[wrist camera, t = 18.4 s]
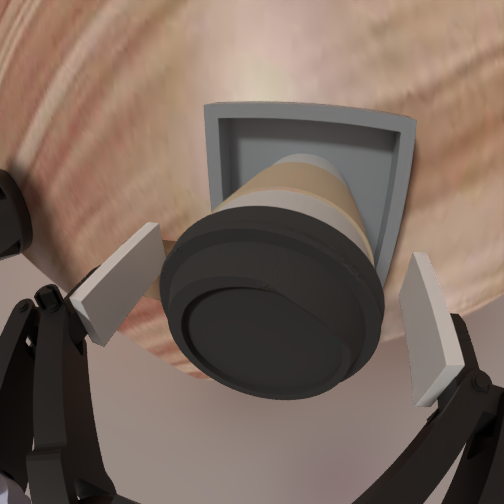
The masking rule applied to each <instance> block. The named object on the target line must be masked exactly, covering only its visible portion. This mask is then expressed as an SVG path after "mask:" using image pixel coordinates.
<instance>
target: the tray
mask: <svg viewBox="0 0 504 504" xmlns="http://www.w3.org/2000/svg"><path fill="white" fill-rule="evenodd" d="M204 118H205V134H206V149H207V163H208V176H209V189H210V200H211V212H212V211H213V210H214V209H215V208H216V207H218V206H219V205H220V204H221V203H222V202H224V201H225V200H226V199H227V198H228V197H230V196H231V195H232V194H233V193H235V192H236V191H237V190H238V189H240V188H241V187H242V186H243V185H245V184H246V183H247V182H248V181H250V180H251V179H252V178H253V177H255V176H256V175H257V174H258V173H260V172H261V171H263V170H265V169H266V168H268V167H271V166H272V165H273V164H274V163H276V162H277V161H278V160H280V159H282V158H284V157H286V156H289V155H293V154H300V153H304V154H312V155H316V156H319V157H322V158H324V159H326V160H327V161H329V162H330V163H332V164H333V165H334V166H335V167H337V168H338V170H339V171H340V172H341V173H342V175H343V176H344V178H345V180H346V182H347V184H348V187H349V190H350V193H351V195H352V196H353V198H354V200H355V203H356V206H357V208H358V211H359V214H360V217H361V220H362V223H363V226H364V229H365V232H366V235H367V238H368V241H369V244H370V248H371V251H372V254H373V259H374V268H375V270H376V272H377V274H378V276H379V279H380V282H381V285H382V288H383V287H384V284H385V280H386V277H387V274H388V270H389V267H390V263H391V259H392V256H393V252H394V248H395V244H396V240H397V236H398V232H399V228H400V223H401V219H402V214H403V209H404V204H405V199H406V194H407V189H408V183H409V177H410V171H411V165H412V158H413V150H414V142H415V134H416V124H417V120H416V119H413V118H411V117H408V116H404V115H399V114H393V113H388V112H382V111H376V110H369V109H362V108H354V107H346V106H337V105H326V104H314V103H297V102H263V101H252V102H217V103H212V104H206V105H204Z"/></svg>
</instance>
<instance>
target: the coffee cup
mask: <svg viewBox="0 0 504 504" xmlns="http://www.w3.org/2000/svg"><path fill="white" fill-rule="evenodd" d="M159 291H160V298H161V302H162V306H163V309H164V312H165V314H166V317H167V319H168V324H169V329H170V332H171V334H172V337H173V339H174V341H175V342H176V344H177V346H178V347H179V349H180V350H181V351H182V353H183V354H184V355H185V356H186V357H187V358H188V359H189V361H191V362H192V363H193V364H194V365H195V366H196V367H197V368H198V369H200V370H201V371H202V372H203V373H205V374H206V375H208V376H209V377H211V378H212V379H214V380H216V381H217V382H219V383H221V384H223V385H225V386H227V387H229V388H232V389H234V390H237V391H239V392H242V393H245V394H249V395H253V396H256V397H261V398H267V399H275V400H296V399H305V398H310V397H313V396H317V395H320V394H322V393H324V392H326V391H328V390H330V389H332V388H333V387H335V386H336V385H337V384H338V383H340V382H342V381H344V380H346V379H348V378H349V377H351V376H352V375H354V374H355V373H357V371H359V370H360V369H361V368H362V367H363V366H364V365H365V364H366V363H367V362H368V361H369V360H370V358H371V357H372V355H373V353H374V352H375V350H376V348H377V345H378V342H379V338H380V333H381V324H382V321H383V316H384V307H385V303H384V293H383V288H382V285H381V282H380V279H379V276H378V274H377V272H376V270H375V268H374V259H373V254H372V251H371V248H370V244H369V241H368V238H367V235H366V232H365V229H364V226H363V223H362V220H361V217H360V214H359V211H358V208H357V206H356V203H355V200H354V198H353V196H352V195H351V193H350V190H349V187H348V184H347V182H346V180H345V178H344V176H343V175H342V173H341V172H340V171H339V170H338V168H337V167H335V166H334V165H333V164H332V163H330V162H329V161H327V160H326V159H324V158H322V157H319V156H316V155H312V154H304V153H300V154H293V155H289V156H286V157H284V158H282V159H280V160H278V161H277V162H276V163H274V164H273V165H272V166H271V167H268V168H266V169H265V170H263V171H261V172H260V173H258V174H257V175H256V176H255V177H253V178H252V179H251V180H250V181H248V182H247V183H246V184H245V185H243V186H242V187H241V188H240V189H238V190H237V191H236V192H235V193H233V194H232V195H231V196H230V197H228V198H227V199H226V200H225V201H224V202H222V203H221V204H220V205H219V206H218V207H216V208H215V209H214V210H213V211H212V213H211V214H210V215H208V216H206V217H204V218H202V219H201V220H199V221H197V222H196V223H195V224H193V225H192V226H191V227H189V228H188V229H187V230H186V231H185V232H184V233H183V234H182V235H181V237H180V238H179V239H178V241H177V242H176V244H175V245H174V247H173V249H172V250H171V252H170V253H169V254H168V256H167V257H166V259H165V261H164V263H163V266H162V269H161V273H160V279H159Z"/></svg>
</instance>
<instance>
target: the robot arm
mask: <svg viewBox="0 0 504 504" xmlns="http://www.w3.org/2000/svg"><path fill="white" fill-rule="evenodd" d="M31 241H32V228H31V222H30V218H29V214H28V211H27V208H26V205H25V202H24V200H23V198H22V195H21V193H20V191H19V189H18V187H17V186H16V184H15V182H14V181H13V179H12V178H11V177H10V175H9V174H8V173H7V172H5V171H4V170H2V169H0V260H4V259H7V258H10V257H13V256H15V255H19V254H20V253H22V252H23V251H24V250H26V249H27V248H28V247H29V246H30V244H31ZM165 259H166V256H165V251H164V246H163V241H162V236H161V231H160V226H159V223H151V222H147V223H146V224H145V225H144V226H143V227H142V228H140V229H139V230H138V231H137V232H136V233H135V234H134V235H133V236H132V237H131V238H129V239H128V240H127V241H126V242H125V243H124V244H123V245H122V246H121V247H120V248H119V249H118V250H116V251H115V252H114V253H113V254H112V255H111V256H110V257H109V258H108V259H107V260H106V261H105V262H104V263H103V264H102V265H99V266H98V267H96V268H94V269H93V270H91V271H90V272H89V273H88V274H87V275H86V278H85V277H84V278H83V279H82V280H81V283H80V282H79V283H78V284H77V285H76V286H75V288H74V289H73V290H72V291H71V292H70V293H69V294H68V295H67V296H66V297H65V298H64V299H63V297H62V295H61V293H60V291H59V289H58V287H57V286H56V285H54V284H49V285H46V286H43V287H42V288H41V289H39V290H38V291H37V292H36V294H35V296H34V298H35V300H36V302H37V304H38V306H39V307H36V306H35V304H34V302H33V301H32V300H31V299H23V300H21V301H20V302H19V303H18V304H16V306H15V307H14V309H13V311H12V313H11V315H10V317H9V319H8V321H7V323H6V325H5V327H4V330H3V332H2V334H1V336H0V504H31V500H32V504H140V503H137V502H135V501H132V500H130V499H127V498H125V497H123V496H120V495H118V494H117V493H116V489H115V487H114V484H113V482H112V480H111V479H110V478H109V476H108V475H107V473H106V471H105V468H104V465H103V461H102V456H101V452H100V447H99V442H98V438H97V432H96V427H95V421H94V415H93V408H92V400H91V393H90V383H89V373H88V360H87V344H86V340H85V339H84V338H85V336H86V335H87V334H88V335H89V337H90V339H91V340H92V342H93V343H96V344H98V345H101V346H103V347H104V346H105V345H106V344H107V342H108V341H109V340H110V338H111V337H112V336H113V334H114V333H115V332H116V330H117V329H118V328H119V326H120V325H121V324H122V322H123V321H124V320H125V318H126V317H127V316H128V314H129V313H130V312H131V310H132V309H133V308H134V306H135V305H136V304H137V303H138V301H139V300H140V299H141V297H142V296H143V295H144V294H145V292H146V291H147V290H148V288H149V287H150V286H151V285H152V283H153V282H154V281H155V280H156V278H157V277H158V276H159V275H160V273H161V269H162V266H163V263H164V261H165ZM399 300H400V305H401V310H402V315H403V321H404V327H405V333H406V339H407V346H408V353H409V361H410V369H411V379H412V390H413V402H414V407H431V406H432V405H433V403H434V402H435V401H436V400H438V409H437V410H436V411H435V412H434V413H433V414H432V415H431V416H430V417H429V418H428V419H427V423H426V424H425V425H424V427H423V428H422V429H421V431H420V432H419V433H418V435H417V436H416V437H415V438H414V440H413V441H412V442H411V443H410V444H409V446H408V447H407V448H406V449H405V450H404V452H403V453H402V454H401V455H400V456H399V457H398V458H397V459H396V461H395V462H394V463H393V464H392V465H391V466H390V467H389V468H388V469H387V470H386V471H385V472H384V473H383V475H381V476H380V477H379V479H377V481H375V482H374V483H373V484H372V485H371V486H370V487H369V488H368V489H367V490H366V491H365V492H364V493H363V494H362V495H361V496H360V497H358V498H357V499H356V500H355V501H354V502H353V503H352V504H423V503H424V502H425V501H426V499H427V498H428V497H429V495H430V494H431V493H432V492H433V491H434V489H435V488H436V486H437V485H438V484H439V483H440V481H441V480H442V479H443V477H444V476H445V474H446V473H447V471H448V470H449V469H450V467H451V466H452V464H453V463H454V461H455V460H456V458H457V456H458V455H459V453H460V452H461V450H462V448H463V447H464V445H465V443H466V446H465V448H464V451H463V455H462V457H461V460H460V462H459V465H458V468H457V470H456V473H455V475H454V477H453V480H452V482H451V484H450V487H449V489H448V491H447V493H446V495H445V497H444V499H443V501H442V503H441V504H504V388H502V387H499V386H496V385H493V384H492V381H491V379H490V377H489V376H488V375H487V374H486V373H485V372H483V371H481V370H480V369H479V366H478V362H477V359H476V356H475V352H474V349H473V345H472V342H471V339H470V336H469V334H468V330H467V327H466V324H465V322H464V321H463V319H462V318H461V317H460V315H459V314H452V313H450V312H449V309H448V306H447V304H446V301H445V298H444V295H443V293H442V290H441V287H440V285H439V282H438V279H437V277H436V274H435V272H434V269H433V267H432V265H431V262H430V260H429V258H428V255H427V254H426V253H419V252H413V254H412V257H411V260H410V264H409V267H408V270H407V273H406V276H405V279H404V282H403V285H402V288H401V291H400V293H399ZM27 337H28V338H29V340H30V341H31V344H30V346H28V345H27V343H26V339H27ZM33 439H34V450H33V451H32V445H33ZM28 482H29V489H30V495H31V500H30V498H29V497H28V496H27V495H25V491H26V488H27V483H28ZM77 496H78V497H79V498H80V500H78V498H77Z"/></svg>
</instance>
